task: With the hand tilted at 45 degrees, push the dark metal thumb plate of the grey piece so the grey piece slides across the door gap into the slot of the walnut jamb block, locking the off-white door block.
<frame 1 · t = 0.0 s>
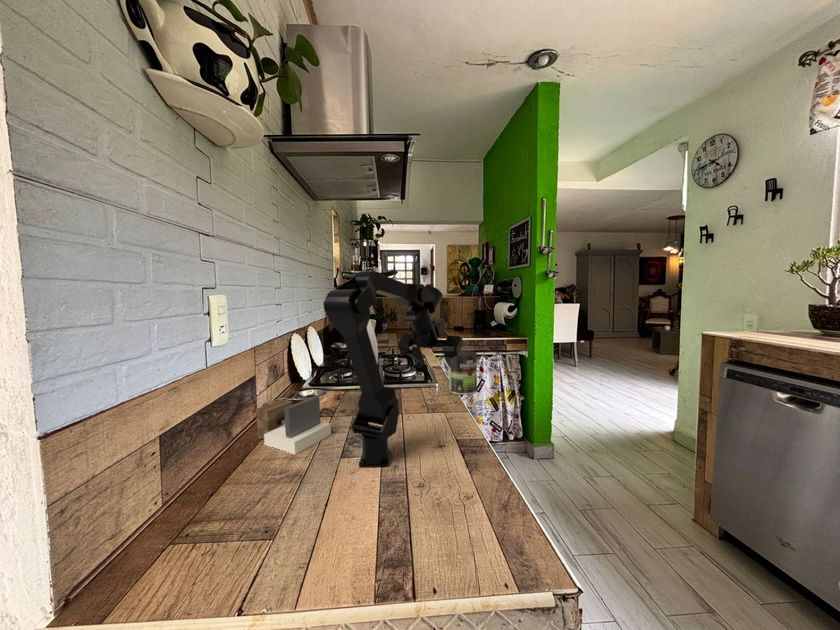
hand: (437, 365, 103), 15 cm above the counter, tool tilted 35°, fingers open, 9 cm apart
grey piece: (294, 414, 88), point 7 cm above the counter, slide at 0.0 cm
skyscraper: (370, 389, 132), on the counter
transparent upright cylinder: (463, 391, 126), on the counter
door block: (285, 436, 90), on the counter
jamb: (275, 419, 92), on the counter
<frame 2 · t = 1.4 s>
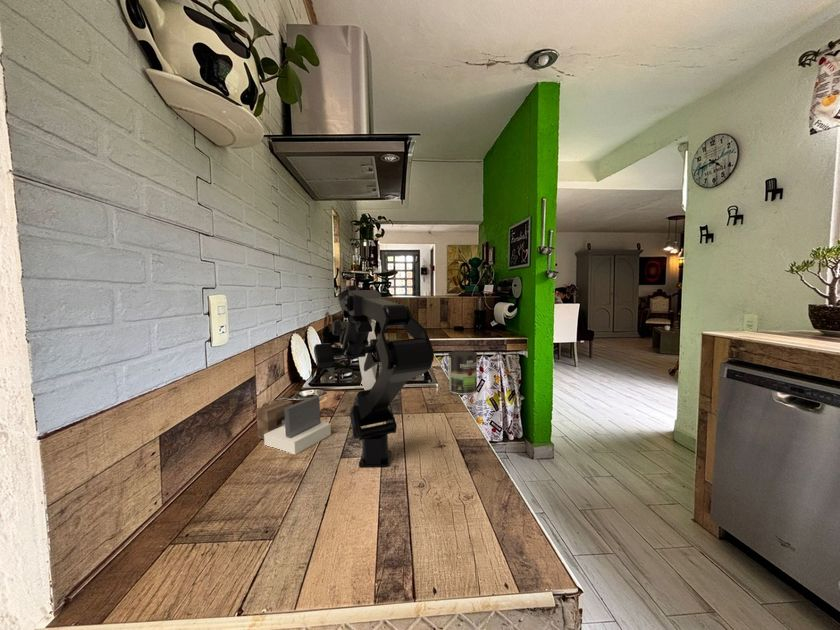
hand: (348, 372, 94), 15 cm above the counter, tool tilted 40°, fingers open, 9 cm apart
nothing on the counter moved.
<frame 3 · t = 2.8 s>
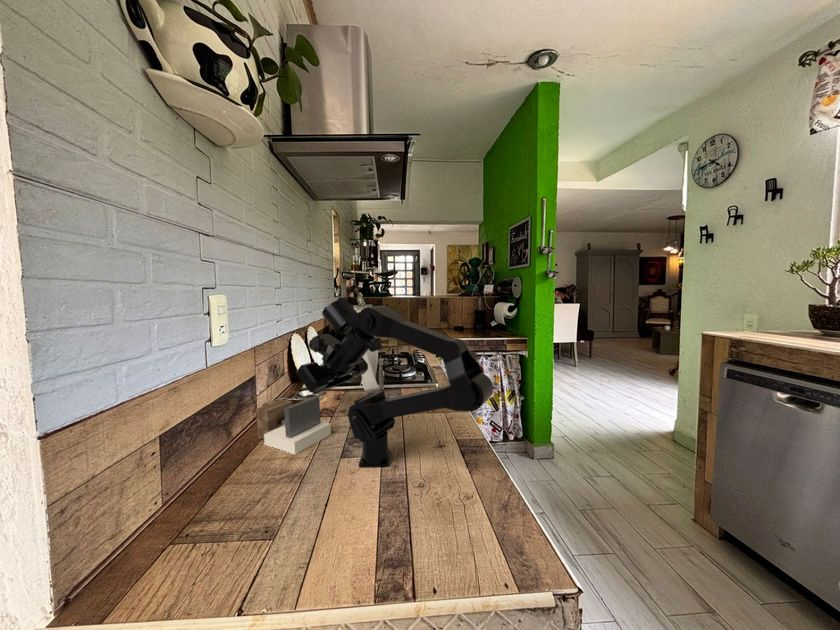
hand: (317, 391, 84), 14 cm above the counter, tool tilted 45°, fingers closed
nothing on the counter moved.
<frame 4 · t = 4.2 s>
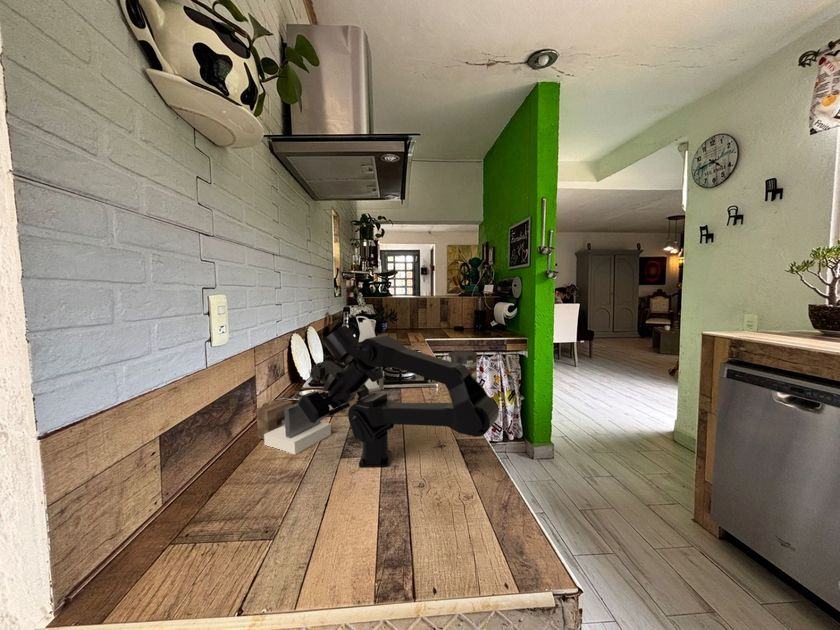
hand: (319, 417, 84), 7 cm above the counter, tool tilted 45°, fingers closed
nothing on the counter moved.
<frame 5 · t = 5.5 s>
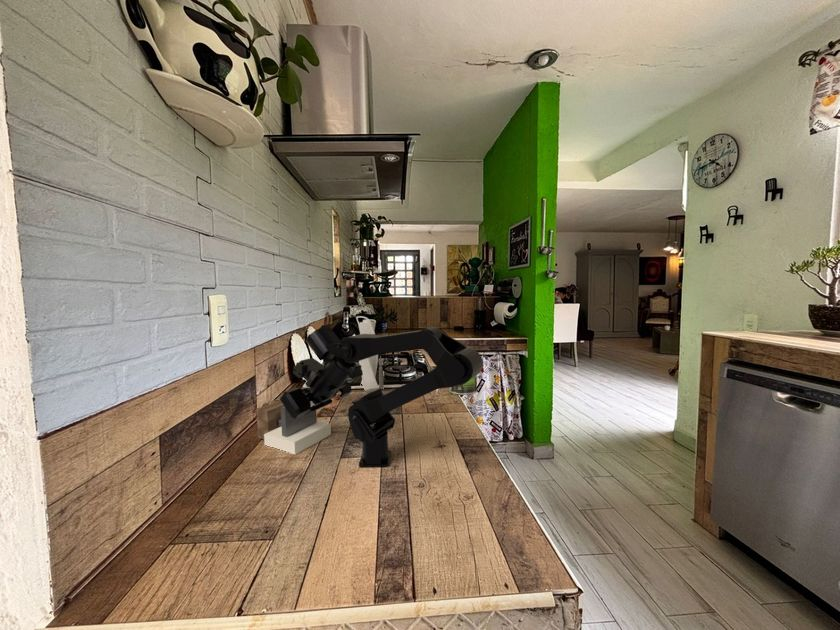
hand: (302, 413, 87), 7 cm above the counter, tool tilted 45°, fingers closed, pressing on grey piece
grey piece: (291, 413, 89), point 7 cm above the counter, slide at 1.3 cm, touching gripper
everything else where it was.
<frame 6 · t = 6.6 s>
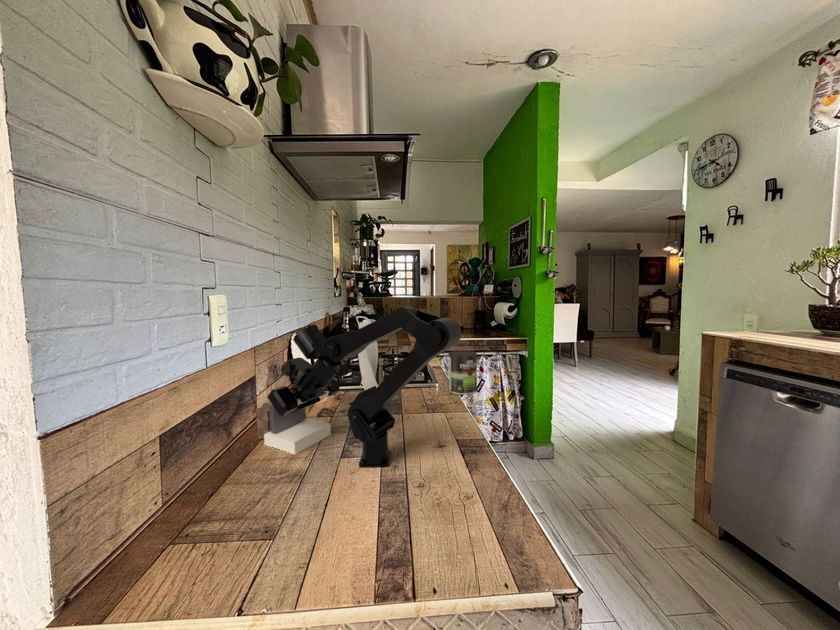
hand: (291, 411, 88), 7 cm above the counter, tool tilted 45°, fingers closed, pressing on grey piece
grey piece: (280, 410, 90), point 7 cm above the counter, slide at 5.3 cm, touching gripper
everything else where it was.
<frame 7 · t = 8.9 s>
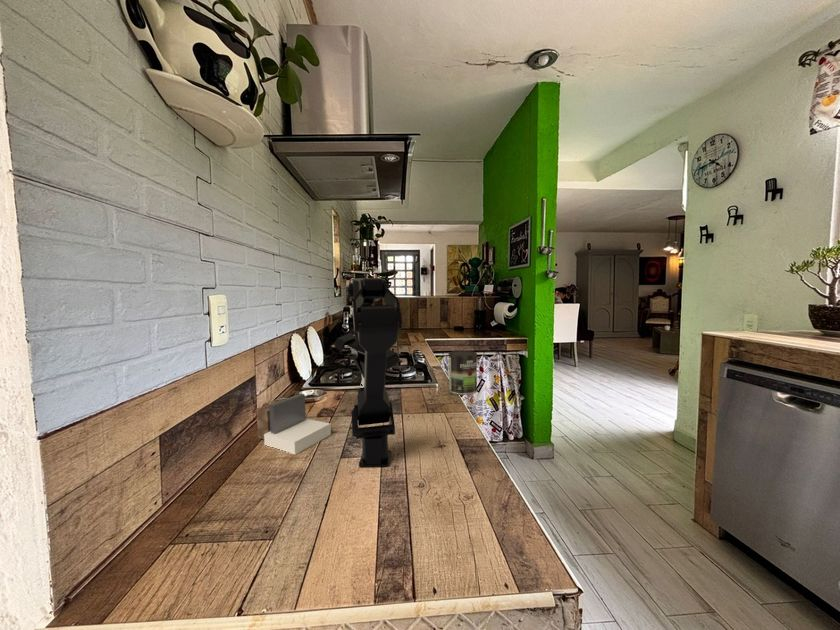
hand: (366, 378, 94), 14 cm above the counter, tool tilted 15°, fingers closed
grey piece: (280, 410, 90), point 7 cm above the counter, slide at 5.3 cm
everything else where it was.
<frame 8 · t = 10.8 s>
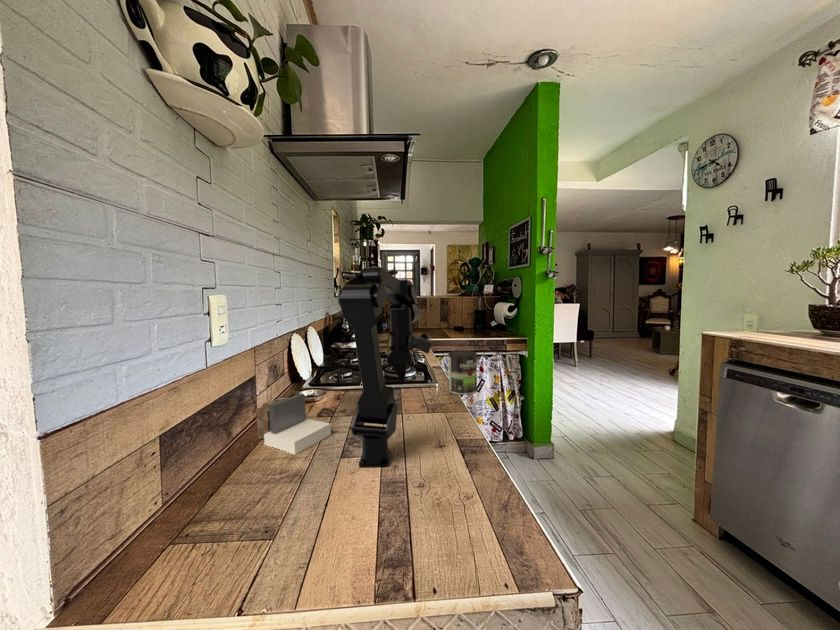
hand: (402, 382, 96), 12 cm above the counter, tool pointing down, fingers closed
nothing on the counter moved.
at the end: grey piece slide at 5.3 cm; transparent upright cylinder moved 0.2 cm from its start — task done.
